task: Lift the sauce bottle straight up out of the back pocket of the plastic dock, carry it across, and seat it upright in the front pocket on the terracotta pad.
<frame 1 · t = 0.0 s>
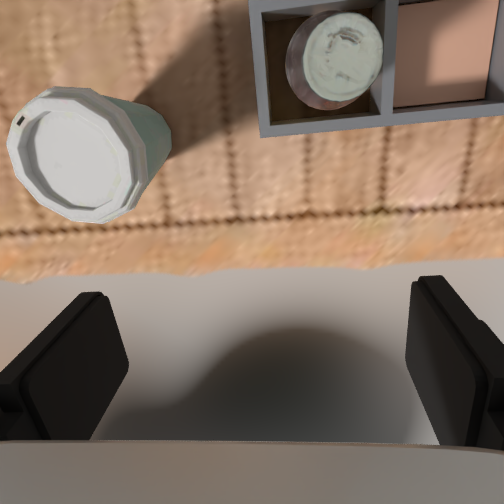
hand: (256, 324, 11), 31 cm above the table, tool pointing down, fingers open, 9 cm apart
disposable coffee cup: (143, 138, 40), on the table
sauce bottle: (318, 68, 36), resting in dock
dock: (376, 61, 35), on the table
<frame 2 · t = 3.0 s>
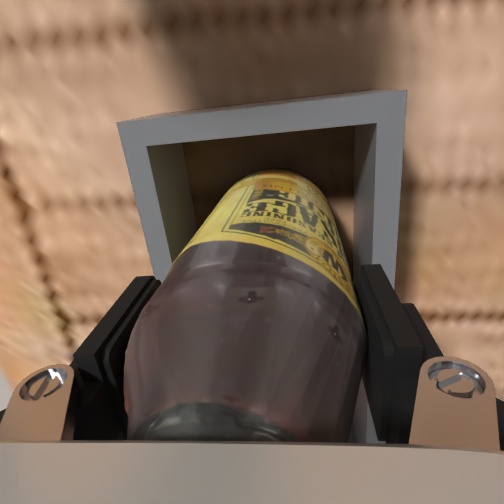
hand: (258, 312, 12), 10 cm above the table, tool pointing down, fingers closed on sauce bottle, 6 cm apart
sauce bottle: (272, 214, 21), resting in dock, touching gripper
dock: (279, 298, 23), on the table
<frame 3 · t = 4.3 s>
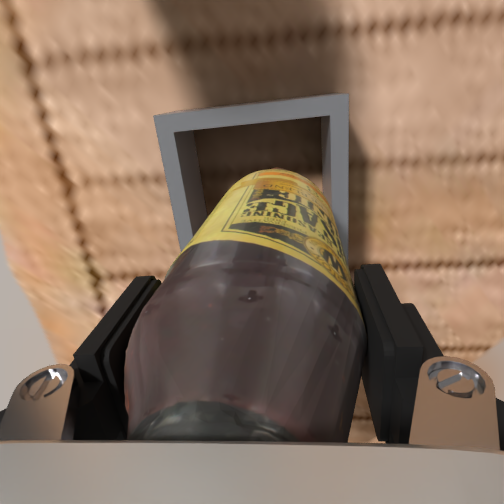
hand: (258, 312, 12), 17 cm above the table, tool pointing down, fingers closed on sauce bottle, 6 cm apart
sauce bottle: (272, 214, 21), point 7 cm above the table, touching gripper
dock: (268, 254, 29), on the table
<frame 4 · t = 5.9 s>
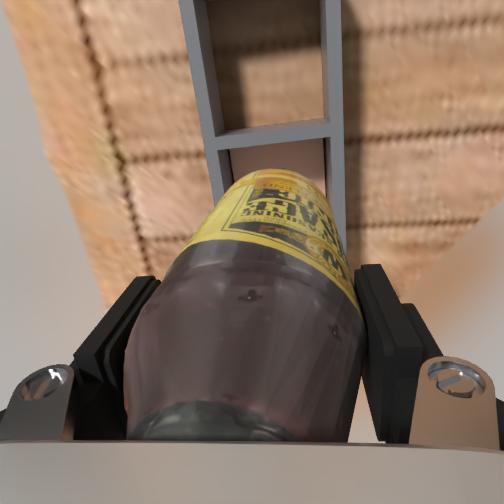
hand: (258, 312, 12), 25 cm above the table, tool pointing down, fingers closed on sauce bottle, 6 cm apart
sauce bottle: (272, 213, 21), point 15 cm above the table, touching gripper
dock: (274, 130, 33), on the table
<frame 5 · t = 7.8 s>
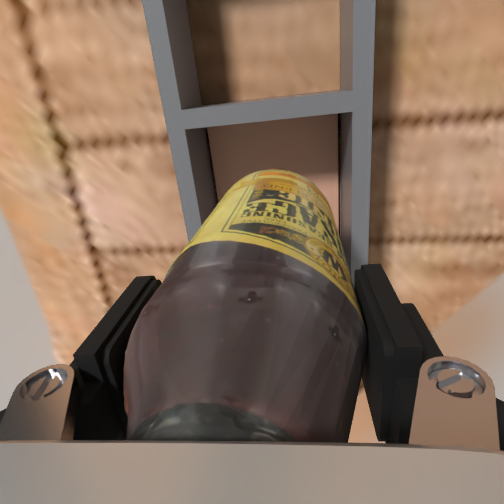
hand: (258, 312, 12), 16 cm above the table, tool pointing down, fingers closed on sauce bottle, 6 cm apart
sauce bottle: (272, 214, 21), point 6 cm above the table, touching gripper
dock: (269, 106, 23), on the table
when the fingers open (11 cm above the table, at t = 9.1 s): sauce bottle drops 1 cm, resting on dock.
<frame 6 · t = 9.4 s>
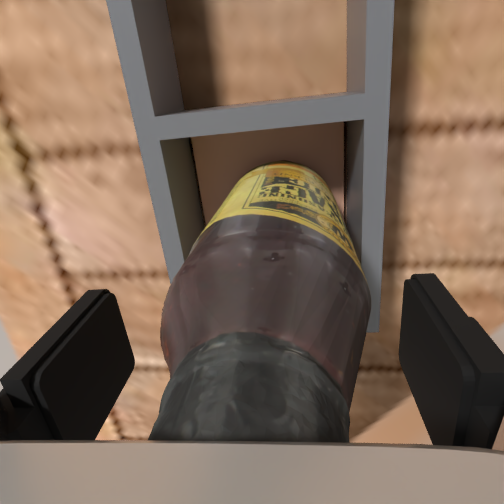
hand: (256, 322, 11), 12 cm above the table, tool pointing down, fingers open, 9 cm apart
sauce bottle: (278, 204, 22), resting on dock
dock: (264, 111, 20), on the table
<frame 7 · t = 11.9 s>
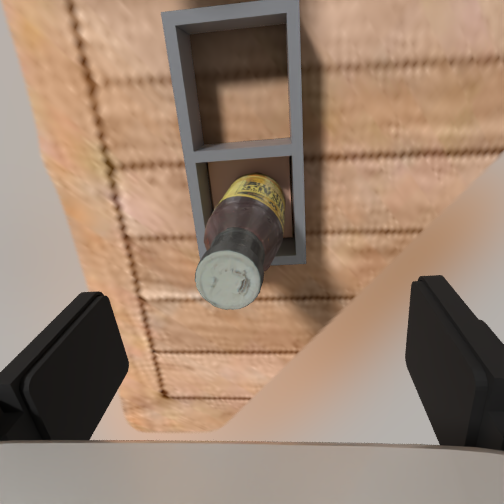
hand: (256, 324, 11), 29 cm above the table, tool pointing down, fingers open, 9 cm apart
sauce bottle: (255, 196, 39), resting on dock
dock: (247, 146, 37), on the table
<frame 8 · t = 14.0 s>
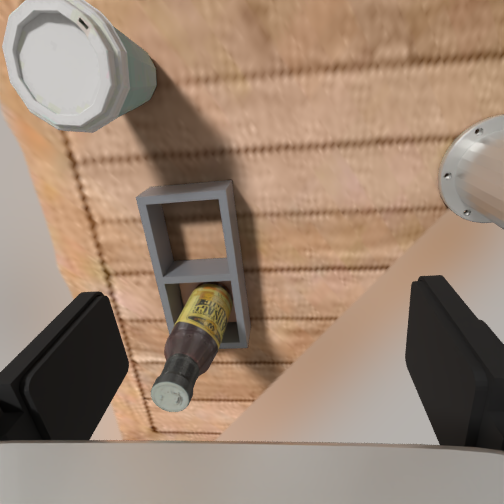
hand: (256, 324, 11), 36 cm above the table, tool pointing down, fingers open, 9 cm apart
disposable coffee cup: (129, 73, 42), on the table
sauce bottle: (212, 294, 54), resting on dock
dock: (204, 262, 52), on the table
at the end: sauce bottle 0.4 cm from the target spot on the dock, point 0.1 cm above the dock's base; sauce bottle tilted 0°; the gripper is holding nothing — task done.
